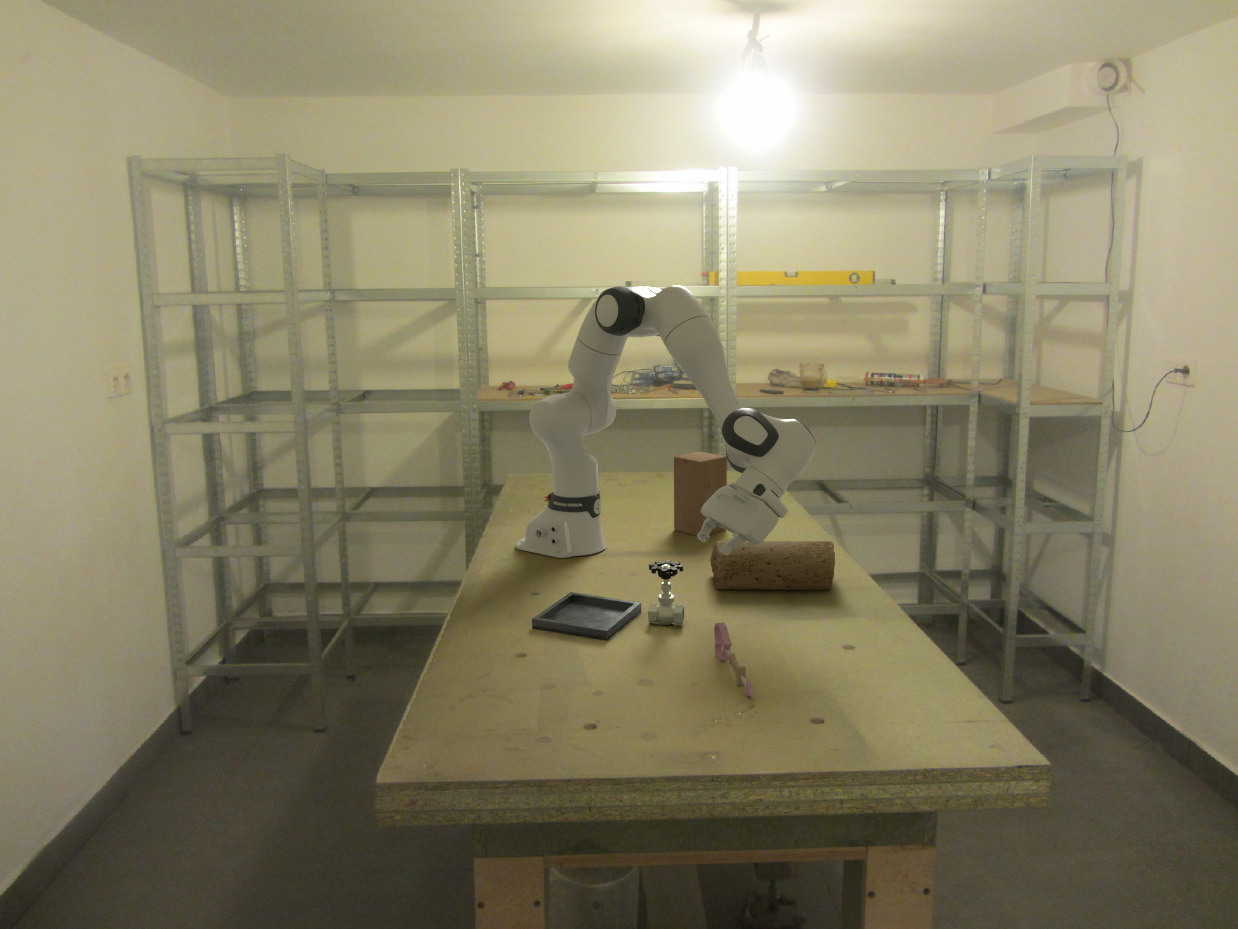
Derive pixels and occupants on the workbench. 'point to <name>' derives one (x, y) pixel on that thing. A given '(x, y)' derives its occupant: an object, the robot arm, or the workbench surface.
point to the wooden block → (696, 488)
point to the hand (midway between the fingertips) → (711, 546)
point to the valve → (666, 595)
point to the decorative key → (730, 656)
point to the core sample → (775, 565)
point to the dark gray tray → (587, 616)
